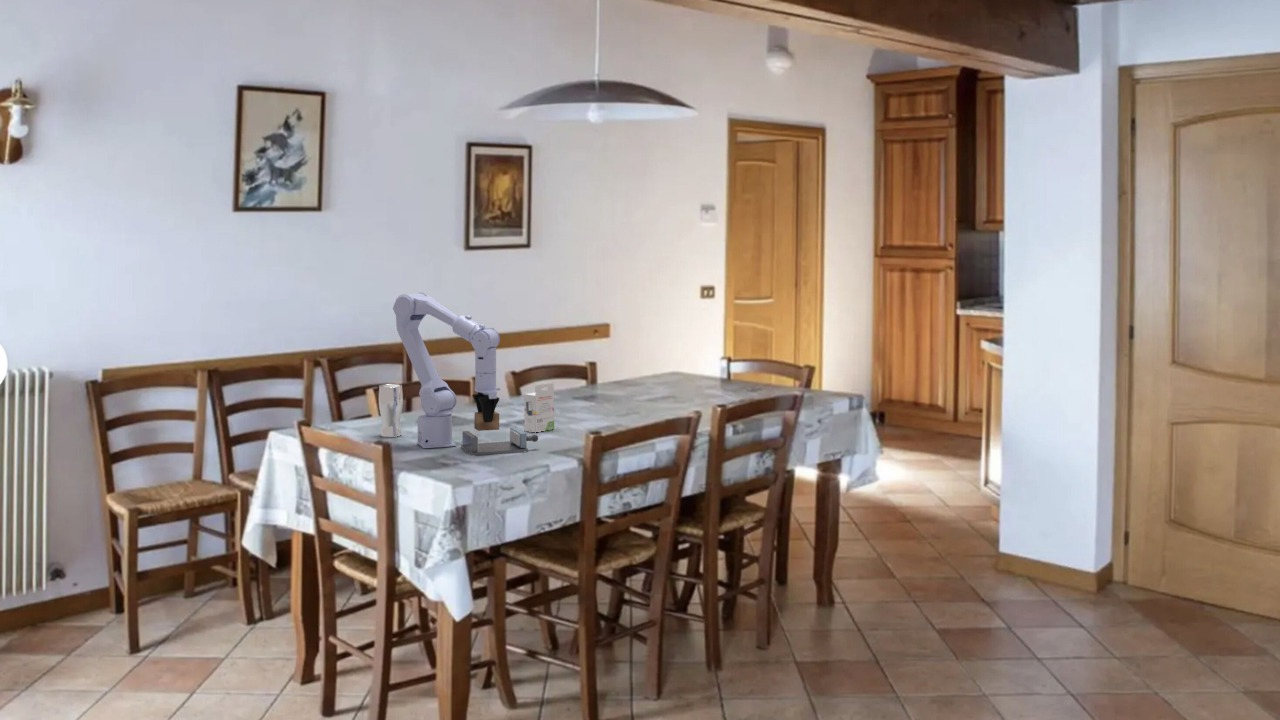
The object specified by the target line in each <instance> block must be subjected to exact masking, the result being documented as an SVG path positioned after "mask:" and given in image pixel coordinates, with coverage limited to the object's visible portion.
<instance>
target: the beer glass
mask: <svg viewBox="0 0 1280 720" xmlns="http://www.w3.org/2000/svg"><path fill="white" fill-rule="evenodd" d="M378 388H379V389H378V407H379V413H380V420H381V431H380V437H381V436H383V437H382V438H386V437H394V438H398V437H397V436H400V435H401V436H402V428H401V418H402V413H403V412H402V411H403V406H404V397H403V396H404V393H403V385H402V384H397V383H386V384H385V383H384V384H380V385H379V386H378ZM401 436H400V437H401Z"/></svg>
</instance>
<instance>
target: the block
mask: <svg viewBox="0 0 1280 720" xmlns="http://www.w3.org/2000/svg"><path fill="white" fill-rule="evenodd" d="M473 417H474V420H473V421H474V425H473V427H474V428H473V429H475V430H476V431H478V432H481V431H483V432H484V431H498V430H499V431H500V413H499V412H497V411H494V415H493V420H492V422H484V420H483V413H482V412H478V411H477V412H474V416H473Z"/></svg>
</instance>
